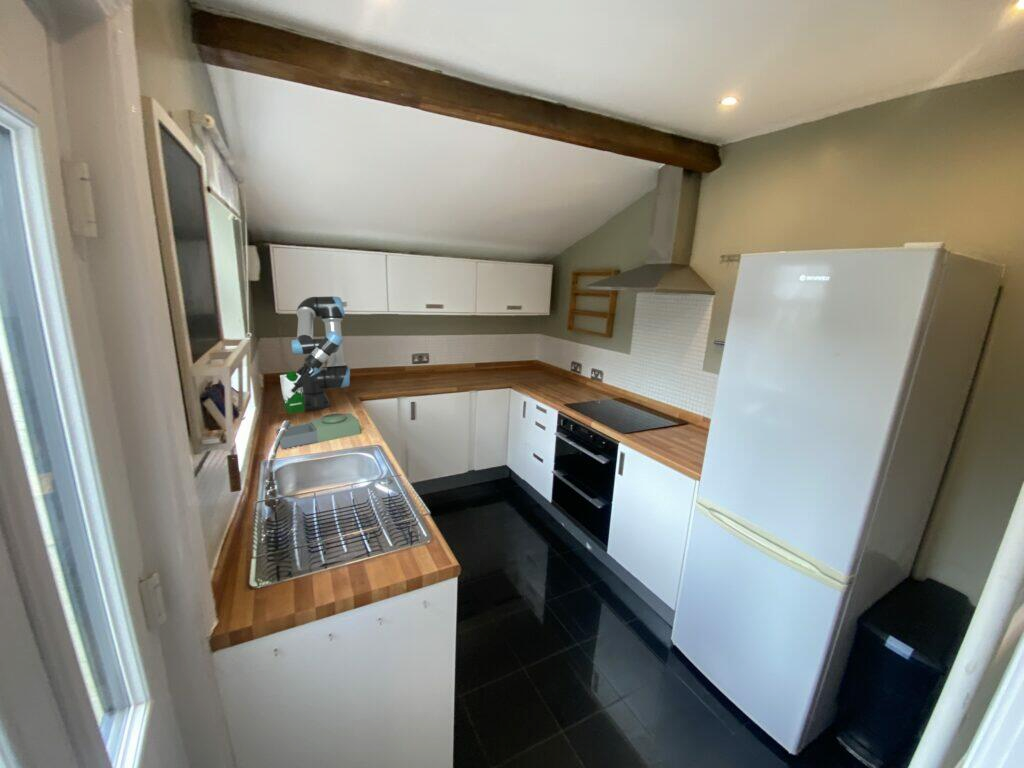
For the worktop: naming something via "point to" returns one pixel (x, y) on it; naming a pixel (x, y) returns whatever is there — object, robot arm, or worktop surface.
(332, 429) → the side socket deck
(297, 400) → the soya milk
